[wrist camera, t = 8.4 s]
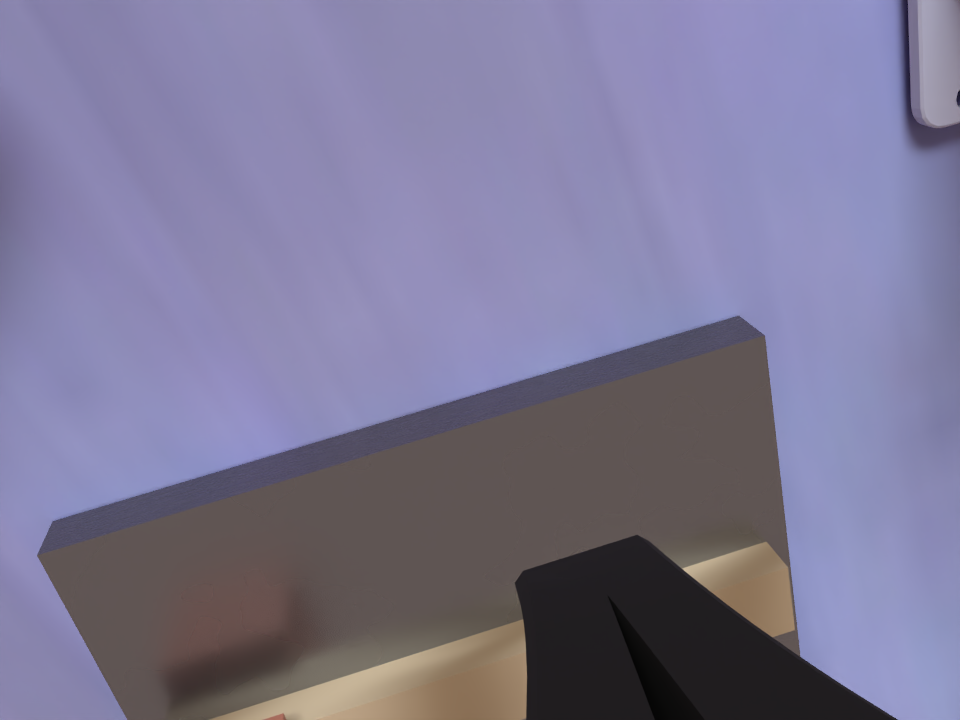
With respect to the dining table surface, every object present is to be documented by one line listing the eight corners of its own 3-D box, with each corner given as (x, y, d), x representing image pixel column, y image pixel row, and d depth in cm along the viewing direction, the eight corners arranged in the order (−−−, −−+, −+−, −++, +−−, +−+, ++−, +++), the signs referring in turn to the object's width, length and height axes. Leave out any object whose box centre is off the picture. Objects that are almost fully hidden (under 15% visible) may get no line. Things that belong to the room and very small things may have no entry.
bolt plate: (738, 316, 19) (767, 336, 18) (793, 763, 25) (817, 802, 24) (52, 521, 18) (35, 557, 17) (274, 940, 24) (273, 989, 23)
